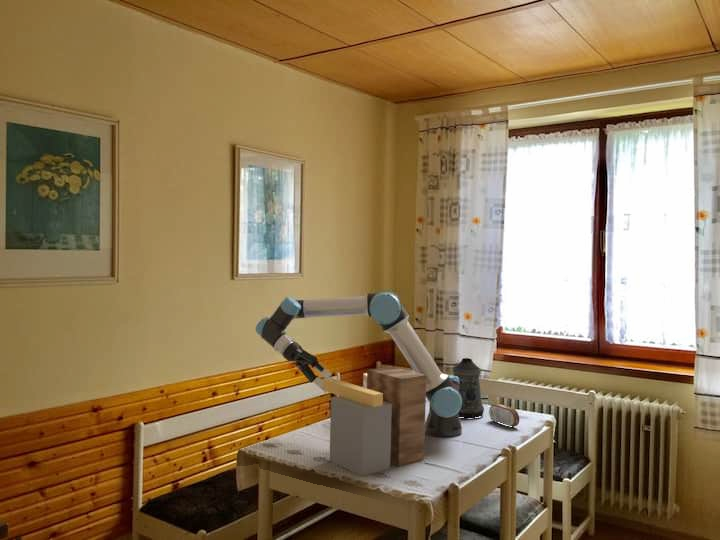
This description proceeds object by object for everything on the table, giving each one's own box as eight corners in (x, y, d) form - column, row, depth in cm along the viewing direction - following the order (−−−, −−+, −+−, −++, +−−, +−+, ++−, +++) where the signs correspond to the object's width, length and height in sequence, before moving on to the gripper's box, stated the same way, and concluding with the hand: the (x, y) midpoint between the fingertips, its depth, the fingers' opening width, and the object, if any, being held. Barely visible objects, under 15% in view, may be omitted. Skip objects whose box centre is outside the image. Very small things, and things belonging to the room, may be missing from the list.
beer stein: (459, 420, 269) (461, 363, 268) (436, 409, 287) (438, 356, 286) (491, 417, 276) (493, 361, 275) (466, 407, 294) (468, 354, 293)
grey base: (329, 460, 214) (331, 397, 214) (356, 454, 222) (358, 393, 221) (362, 476, 200) (364, 408, 200) (389, 468, 208) (391, 403, 207)
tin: (519, 429, 260) (520, 409, 259) (514, 430, 258) (515, 410, 257) (492, 420, 272) (493, 401, 272) (487, 421, 270) (488, 402, 270)
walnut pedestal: (365, 452, 225) (367, 369, 223) (389, 446, 232) (392, 366, 231) (398, 466, 211) (401, 378, 210) (423, 459, 218) (426, 374, 217)
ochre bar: (321, 389, 225) (322, 378, 225) (330, 388, 227) (330, 377, 227) (373, 407, 202) (373, 395, 202) (382, 405, 205) (382, 393, 205)
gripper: (282, 367, 250) (320, 401, 244) (281, 340, 229) (322, 378, 223) (295, 354, 254) (333, 388, 247) (295, 327, 233) (337, 364, 226)
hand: (328, 383), depth 235 cm, fingers open, 13 cm apart
